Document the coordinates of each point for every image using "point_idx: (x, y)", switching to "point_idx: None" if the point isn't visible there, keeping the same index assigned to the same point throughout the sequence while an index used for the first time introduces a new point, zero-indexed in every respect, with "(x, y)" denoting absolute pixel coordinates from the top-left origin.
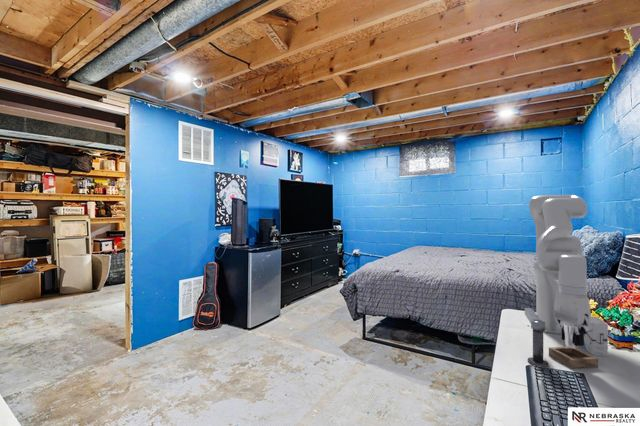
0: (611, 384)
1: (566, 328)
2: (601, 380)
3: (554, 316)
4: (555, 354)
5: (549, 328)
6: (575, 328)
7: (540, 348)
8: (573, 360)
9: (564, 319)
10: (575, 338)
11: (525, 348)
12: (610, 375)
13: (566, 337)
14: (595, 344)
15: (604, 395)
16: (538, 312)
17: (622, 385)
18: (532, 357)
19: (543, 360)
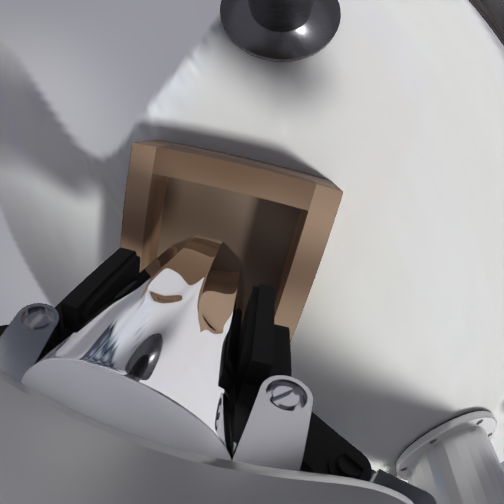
0: (30, 176)
1: (127, 329)
2: (53, 168)
3: (425, 494)
4: (277, 169)
5: (445, 441)
6: (24, 358)
7: None
8: (132, 149)
9: (81, 471)
10: (87, 278)
11: (450, 153)
12: (77, 259)
13: (189, 272)
14: (234, 444)
15: (4, 68)
16: (497, 469)
17: (22, 212)
18: (335, 27)
19: (278, 49)
